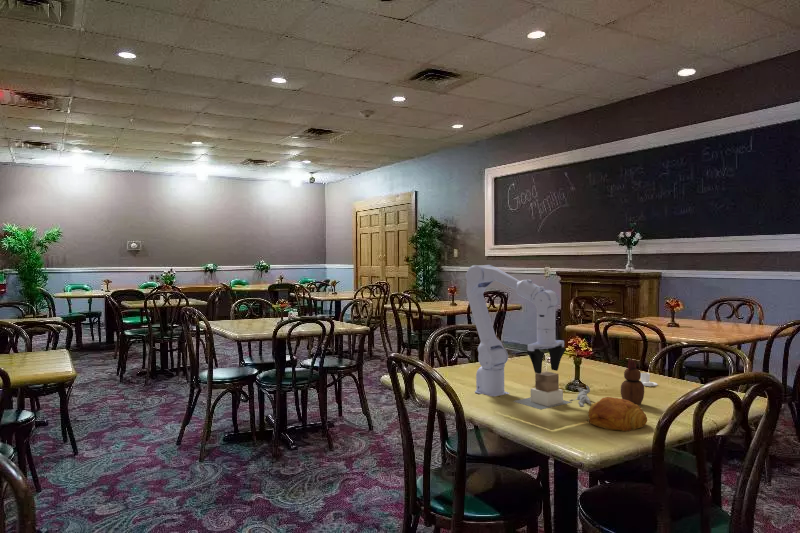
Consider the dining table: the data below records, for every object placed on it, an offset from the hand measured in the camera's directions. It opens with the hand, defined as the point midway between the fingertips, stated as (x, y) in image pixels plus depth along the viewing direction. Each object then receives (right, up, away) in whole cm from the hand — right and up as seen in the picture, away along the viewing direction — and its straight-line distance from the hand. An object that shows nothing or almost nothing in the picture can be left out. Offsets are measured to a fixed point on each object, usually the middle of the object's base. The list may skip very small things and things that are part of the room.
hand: (546, 371), depth 179 cm
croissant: (+13, -11, -21) cm, 27 cm away
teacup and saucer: (+40, -10, +25) cm, 48 cm away
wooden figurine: (+26, -10, -2) cm, 28 cm away
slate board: (-1, -10, 0) cm, 10 cm away
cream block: (0, -10, 0) cm, 10 cm away
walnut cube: (0, -6, 0) cm, 6 cm away
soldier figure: (+12, -10, 0) cm, 16 cm away
